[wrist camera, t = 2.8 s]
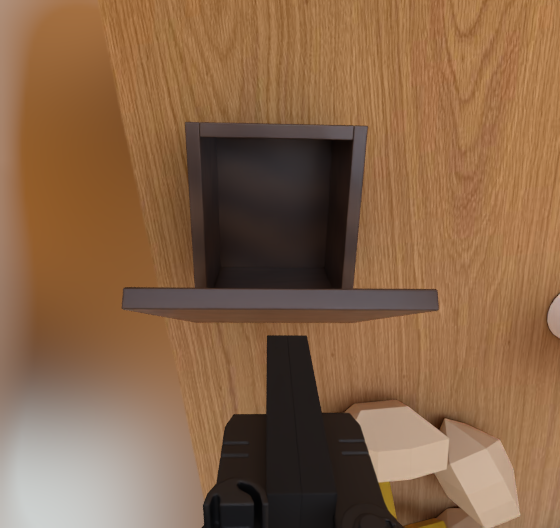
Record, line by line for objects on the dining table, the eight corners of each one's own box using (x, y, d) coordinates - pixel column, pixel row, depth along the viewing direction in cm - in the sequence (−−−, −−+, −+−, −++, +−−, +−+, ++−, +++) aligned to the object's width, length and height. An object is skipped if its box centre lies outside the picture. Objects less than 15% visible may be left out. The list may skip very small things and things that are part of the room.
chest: (206, 125, 35) (184, 121, 26) (341, 128, 36) (368, 125, 26) (212, 272, 40) (196, 314, 31) (331, 273, 41) (350, 314, 31)
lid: (122, 287, 15) (120, 309, 15) (438, 288, 15) (439, 310, 15) (195, 311, 31) (194, 322, 30) (351, 312, 31) (352, 322, 31)
